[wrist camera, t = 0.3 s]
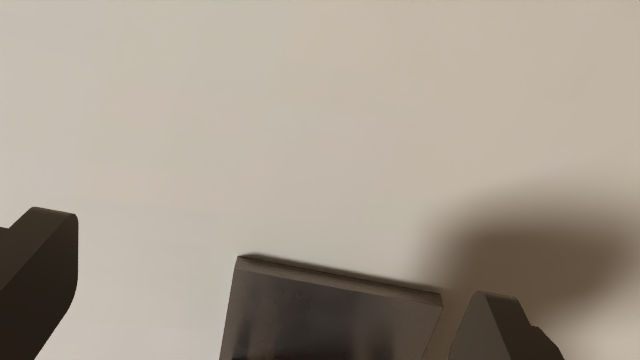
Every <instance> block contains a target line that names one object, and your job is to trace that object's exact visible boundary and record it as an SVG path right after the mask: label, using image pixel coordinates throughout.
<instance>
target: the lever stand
mask: <svg viewBox="0 0 640 360" xmlns="http://www.w3.org/2000/svg"><path fill="white" fill-rule="evenodd" d="M442 309H443V304H442V300H441V296H440V294H435V293H430V292H425V291H419V290H414V289H409V288H403V287H398V286H393V285H387V284H382V283H377V282H371V281H366V280H361V279H355V278H350V277H345V276H339V275H334V274H329V273H323V272H318V271H312V270H307V269H302V268H296V267H291V266H286V265H280V264H275V263H270V262H264V261H259V260H254V259H248V258H243V257H237V261H236V264H235V268H234V273H233V279H232V286H231V292H230V298H229V304H228V310H227V316H226V322H225V328H224V334H223V340H222V346H221V352H220V358H219V360H421V359H422V356H423V354H424V352H425V349H426V347H427V345H428V342H429V340H430V338H431V335H432V333H433V331H434V328H435V326H436V323H437V321H438V319H439V316H440V314H441V312H442Z"/></svg>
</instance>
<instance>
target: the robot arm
mask: <svg viewBox="0 0 640 360" xmlns="http://www.w3.org/2000/svg"><path fill="white" fill-rule="evenodd" d="M77 280H78V219H77V216H76V215H75V214H72V213H67V212H61V211H56V210H51V209H45V208H40V207H32V208H30V209H29V210H28V211H27V212H26V213H25V214H24V215H22V216H21V217H20V218H19V219H18V220H17V221H16V222H15V223H14V224H13V225H12V226H11V227H10V228H9V229H8V228H3V227H0V360H34V359H35V358H36V356H37V355H38V353H39V352H40V350H41V349H42V347H43V346H44V344H45V343H46V341H47V340H48V339H49V337H50V336H51V334H52V333H53V331H54V330H55V328H56V327H57V325H58V324H59V322H60V321H61V319H62V318H63V316H64V315H65V314H66V312H67V310H68V309H69V307H70V305H71V303H72V300H73V298H74V295H75V291H76V287H77ZM449 360H564V358H563V356H562V354H561V352H560V350H559V348H558V347H557V346H556V345H555V344H554V343H553V342H552V341H551V340H550V339H549V338H548V337H547V336H546V335H545V334H544V333H543V331H542V330H541V329H540V328H539V327H535V326H531V325H530V323H529V321H528V319H527V317H526V315H525V313H524V311H523V309H522V307H521V305H520V303H519V301H518V300H517V299H516V298H514V297H509V296H504V295H499V294H493V293H488V292H483V291H477V292H476V293H475V294H474V295H473V297H472V299H471V301H470V303H469V305H468V308H467V310H466V313H465V315H464V317H463V320H462V322H461V325H460V327H459V329H458V332H457V334H456V337H455V339H454V341H453V344H452V346H451V349H450V353H449Z"/></svg>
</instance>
